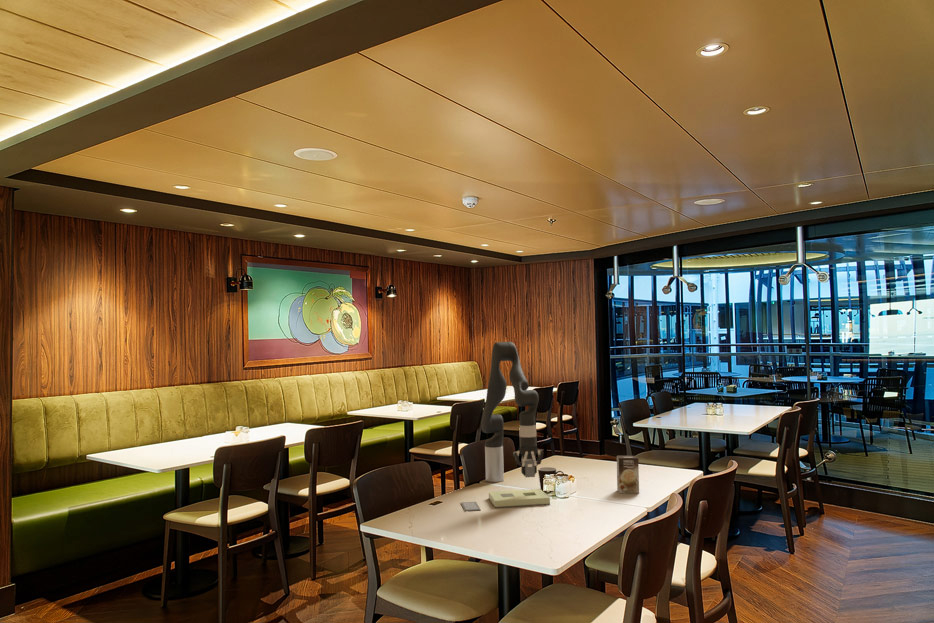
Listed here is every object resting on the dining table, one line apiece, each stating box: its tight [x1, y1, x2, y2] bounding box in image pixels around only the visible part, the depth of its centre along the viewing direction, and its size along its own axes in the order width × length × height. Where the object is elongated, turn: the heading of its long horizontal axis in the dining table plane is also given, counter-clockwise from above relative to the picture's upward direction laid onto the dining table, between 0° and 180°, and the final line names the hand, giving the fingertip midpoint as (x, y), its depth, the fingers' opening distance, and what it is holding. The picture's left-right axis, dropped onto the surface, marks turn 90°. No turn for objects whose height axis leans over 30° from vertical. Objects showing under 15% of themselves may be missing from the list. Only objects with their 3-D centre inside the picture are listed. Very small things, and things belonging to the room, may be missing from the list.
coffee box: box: [616, 455, 640, 494], centre depth 278 cm, size 9×6×16 cm
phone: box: [460, 501, 481, 512], centre depth 258 cm, size 13×7×1 cm, turn 8°
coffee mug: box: [537, 466, 565, 491], centre depth 283 cm, size 12×9×10 cm
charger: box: [523, 458, 536, 478], centre depth 266 cm, size 4×4×7 cm
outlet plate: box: [488, 488, 551, 509], centre depth 265 cm, size 16×24×3 cm, turn 97°
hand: (529, 474), depth 266 cm, fingers closed on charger, 4 cm apart
